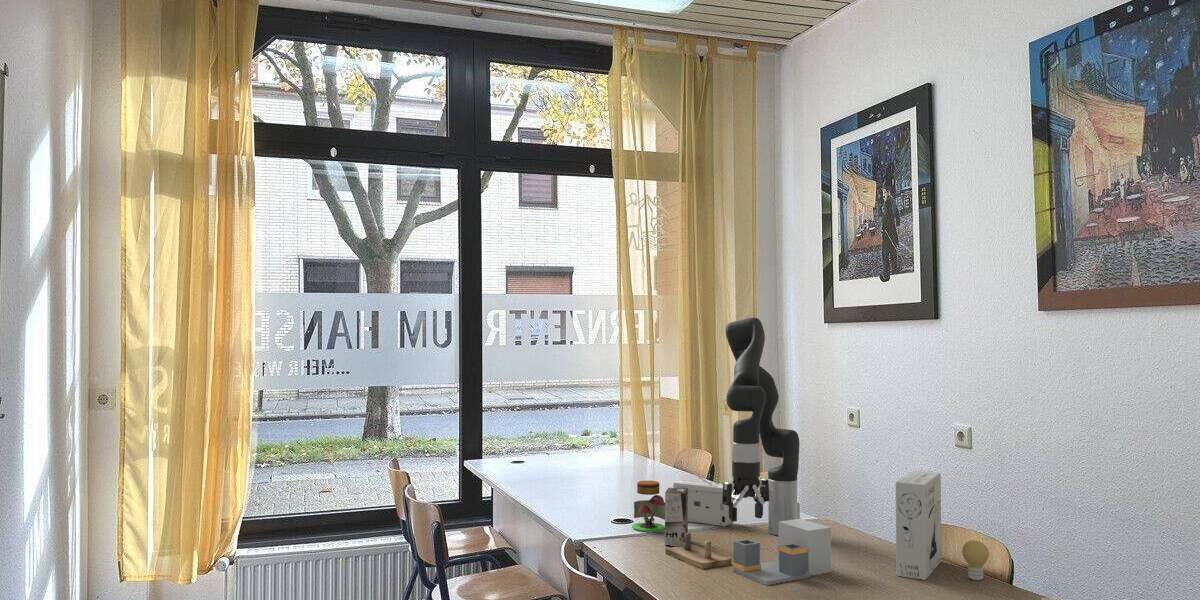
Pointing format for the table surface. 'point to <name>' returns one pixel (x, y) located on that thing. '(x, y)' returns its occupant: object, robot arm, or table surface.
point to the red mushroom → (649, 507)
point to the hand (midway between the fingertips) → (745, 519)
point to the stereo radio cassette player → (705, 501)
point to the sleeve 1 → (746, 555)
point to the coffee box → (676, 516)
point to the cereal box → (918, 524)
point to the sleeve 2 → (792, 559)
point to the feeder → (801, 534)
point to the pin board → (698, 554)
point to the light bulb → (975, 558)
